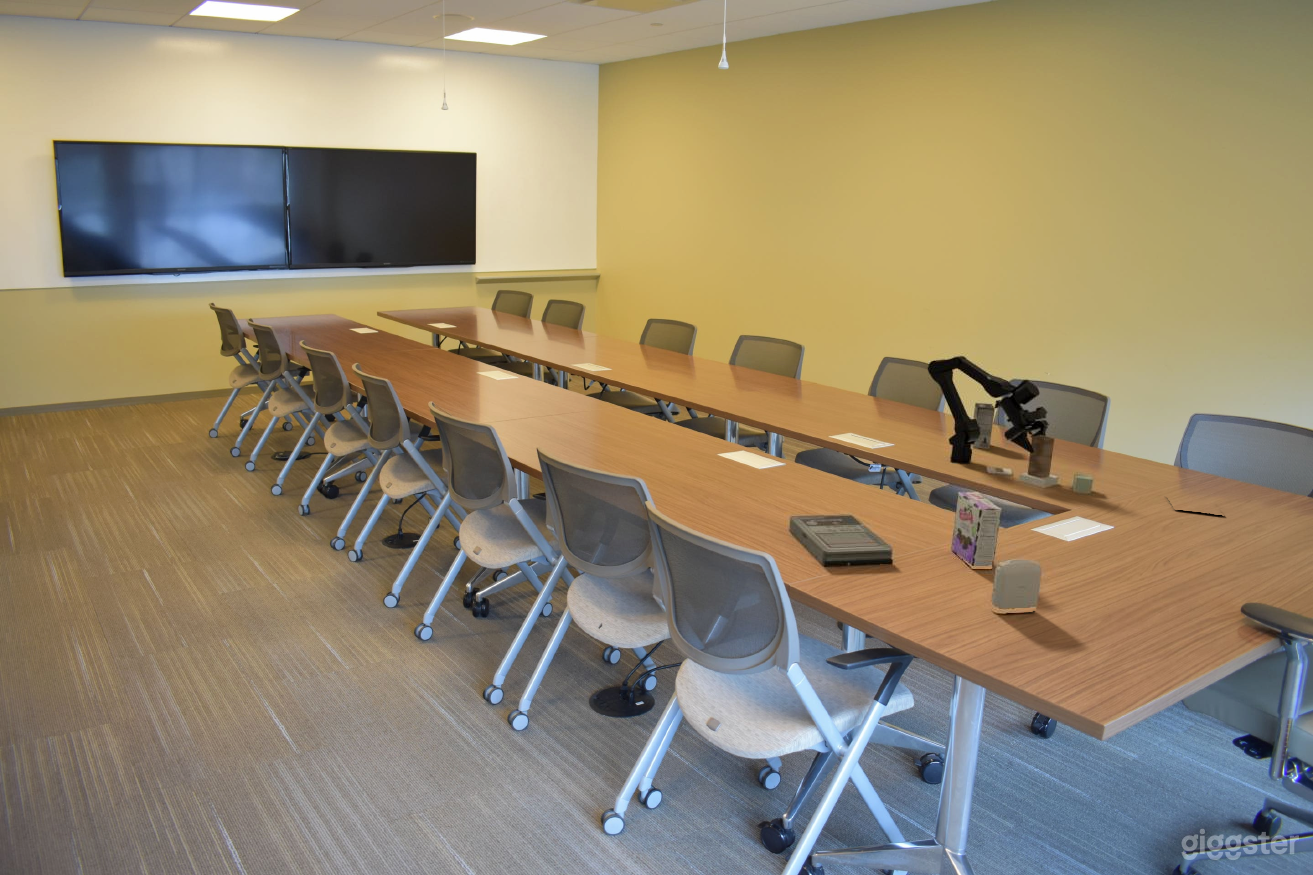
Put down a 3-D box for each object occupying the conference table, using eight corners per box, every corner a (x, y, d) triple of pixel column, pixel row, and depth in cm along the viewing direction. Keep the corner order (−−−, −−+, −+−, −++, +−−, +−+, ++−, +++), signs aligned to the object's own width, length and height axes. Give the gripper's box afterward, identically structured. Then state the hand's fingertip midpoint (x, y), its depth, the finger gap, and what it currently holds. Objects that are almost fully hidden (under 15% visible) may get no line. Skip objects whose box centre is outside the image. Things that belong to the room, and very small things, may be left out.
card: (987, 472, 320) (987, 470, 320) (986, 468, 326) (986, 465, 326) (1011, 475, 318) (1012, 473, 318) (1010, 470, 324) (1010, 468, 323)
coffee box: (969, 442, 363) (974, 402, 359) (986, 443, 362) (992, 403, 358) (972, 447, 354) (977, 407, 350) (990, 449, 353) (995, 408, 349)
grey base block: (1018, 482, 311) (1019, 474, 311) (1032, 478, 317) (1033, 470, 316) (1043, 489, 305) (1044, 480, 304) (1057, 485, 310) (1058, 476, 310)
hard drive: (823, 568, 229) (825, 552, 228) (787, 531, 254) (788, 516, 253) (892, 565, 233) (894, 549, 231) (849, 529, 258) (851, 514, 257)
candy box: (949, 550, 244) (957, 490, 240) (971, 550, 245) (979, 491, 241) (971, 570, 231) (979, 507, 227) (994, 570, 231) (1002, 508, 227)
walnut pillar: (1027, 474, 311) (1032, 436, 308) (1036, 472, 314) (1040, 435, 311) (1040, 477, 307) (1045, 439, 304) (1049, 475, 310) (1054, 438, 307)
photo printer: (996, 616, 205) (1004, 564, 202) (986, 607, 209) (994, 556, 206) (1038, 614, 206) (1046, 562, 203) (1028, 606, 210) (1035, 555, 207)
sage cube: (1074, 492, 301) (1076, 477, 300) (1072, 488, 306) (1074, 473, 305) (1090, 494, 300) (1093, 479, 299) (1088, 490, 305) (1090, 475, 303)
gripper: (1017, 401, 303) (1044, 441, 297) (1047, 396, 314) (1073, 434, 309) (993, 420, 311) (1018, 459, 305) (1023, 414, 322) (1047, 452, 317)
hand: (1040, 450), depth 309 cm, fingers open, 9 cm apart
